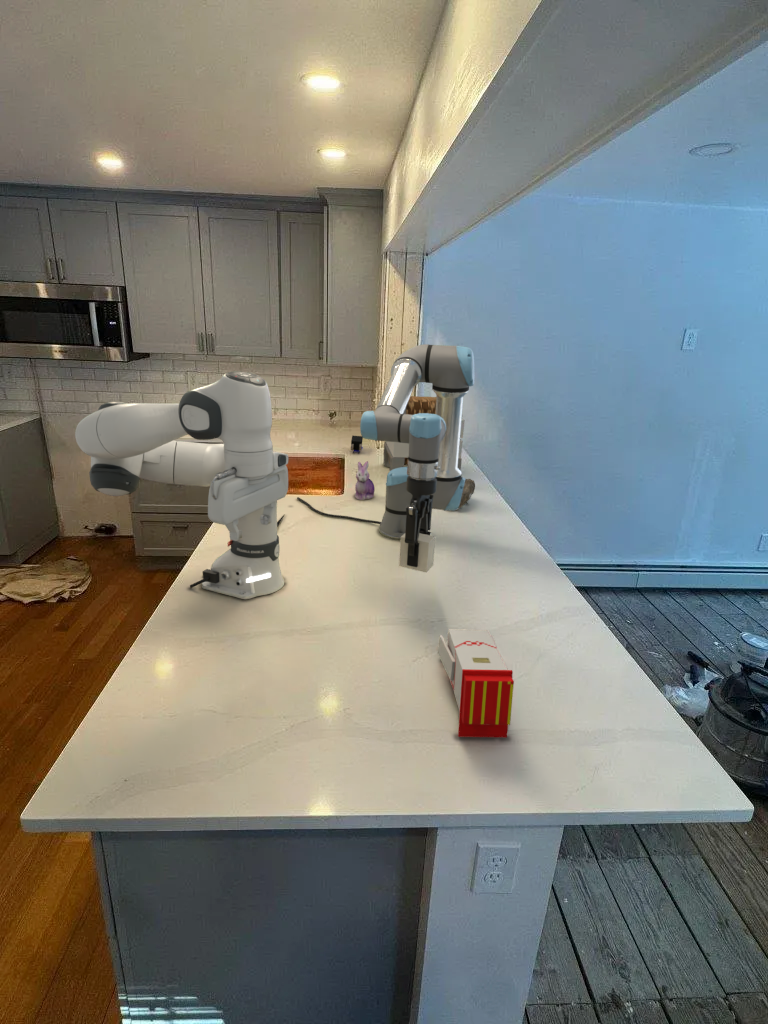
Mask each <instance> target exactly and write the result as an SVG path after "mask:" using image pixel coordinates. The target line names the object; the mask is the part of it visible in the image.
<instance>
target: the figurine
mask: <svg viewBox="0 0 768 1024" xmlns="http://www.w3.org/2000/svg"><path fill="white" fill-rule="evenodd" d="M368 468H369V460H367V461H365V463H364V464H363V465H362V462H360V461H358V462H357V472H356V474H355V478H356V480H357V481H356V483H355V488H354V489H355V493H354V497H355V499H356V500H361V501H362V500H363V501H364V500H370V499H372V498H374V496H375V491H376V488H375V484H374V482H373V481H372V479H370V473H369V471H368Z"/></svg>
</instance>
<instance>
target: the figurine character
mask: <svg viewBox="0 0 768 1024" xmlns="http://www.w3.org/2000/svg"><path fill="white" fill-rule="evenodd" d="M363 440H364V438H363V437H362V435H351V441H350V451H352V454H355V453H357V454H360V451H362V450H363V449H364V447H363Z"/></svg>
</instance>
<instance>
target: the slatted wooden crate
mask: <svg viewBox="0 0 768 1024" xmlns="http://www.w3.org/2000/svg"><path fill="white" fill-rule="evenodd" d="M435 410H436V396H415V395H414V396H413V395H412V396H410V398H409V401H408V403H407V406H406V408H405V411H404V413H403V414H409V415H414V414H418V413H429V414H435ZM464 429H465V419H464V418H462V420H461V431H460V443H459V455H458V468H459V470H460V471H461V472H462V461H463V460H462V453H463V442H464V441H463V440H462V439H463V438H464V431H465V430H464ZM408 456H409V443H400V442H388V441H383V466H384V467H388V468H389V472H390V471H391V470H393V469H396V468H401V467H405V466H406V467H407V466H408Z"/></svg>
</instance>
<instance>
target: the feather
mask: <svg viewBox="0 0 768 1024" xmlns="http://www.w3.org/2000/svg"><path fill="white" fill-rule="evenodd" d="M285 515H286V514H283V515H282V516H281V518H279V519H278V520H277V528H279V526H280V524H281V522H282V520H283V519H284V516H285Z"/></svg>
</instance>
